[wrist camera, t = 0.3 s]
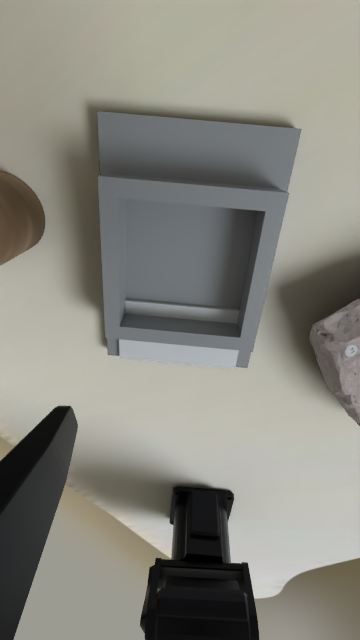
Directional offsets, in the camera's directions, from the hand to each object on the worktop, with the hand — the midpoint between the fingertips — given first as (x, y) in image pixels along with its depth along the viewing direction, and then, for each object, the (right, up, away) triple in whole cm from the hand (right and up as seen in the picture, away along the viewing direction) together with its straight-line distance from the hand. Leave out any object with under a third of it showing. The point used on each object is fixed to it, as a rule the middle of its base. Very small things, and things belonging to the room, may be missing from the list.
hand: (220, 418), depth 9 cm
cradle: (-1, +7, +12) cm, 14 cm away
